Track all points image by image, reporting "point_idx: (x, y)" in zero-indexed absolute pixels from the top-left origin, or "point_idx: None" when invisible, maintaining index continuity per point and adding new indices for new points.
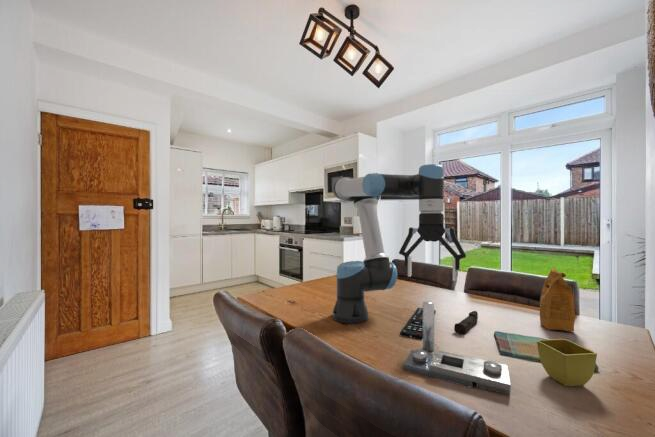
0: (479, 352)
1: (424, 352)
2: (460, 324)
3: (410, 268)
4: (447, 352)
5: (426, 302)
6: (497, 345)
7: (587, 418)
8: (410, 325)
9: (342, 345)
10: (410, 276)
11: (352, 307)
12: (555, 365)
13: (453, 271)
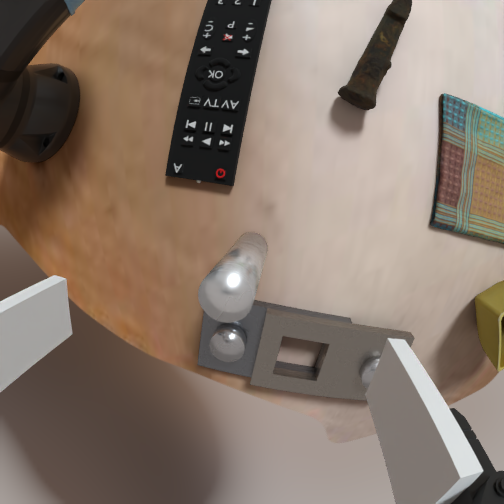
0: (386, 226)
1: (237, 346)
2: (361, 97)
3: (33, 348)
4: (296, 320)
5: (216, 297)
6: (437, 168)
7: (449, 391)
8: (193, 106)
9: (68, 286)
10: (70, 321)
11: (22, 145)
12: (484, 338)
13: (387, 445)
